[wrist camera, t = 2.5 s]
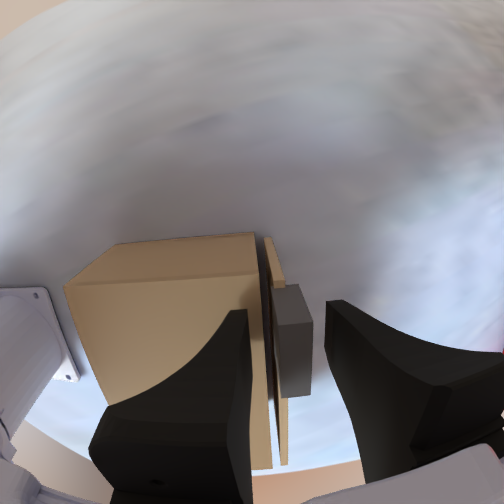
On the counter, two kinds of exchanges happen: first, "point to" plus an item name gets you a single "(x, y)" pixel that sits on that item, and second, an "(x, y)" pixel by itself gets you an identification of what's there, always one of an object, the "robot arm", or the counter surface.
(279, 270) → the carton flap
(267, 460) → the carton
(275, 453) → the counter surface
